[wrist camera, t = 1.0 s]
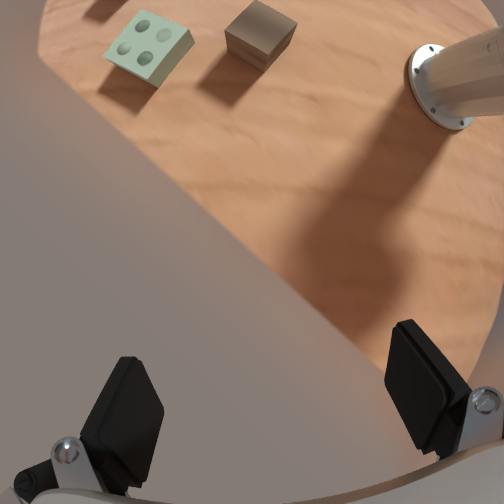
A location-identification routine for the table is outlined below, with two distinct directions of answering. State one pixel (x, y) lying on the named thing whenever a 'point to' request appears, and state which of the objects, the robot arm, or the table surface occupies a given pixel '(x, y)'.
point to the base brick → (150, 47)
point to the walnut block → (259, 35)
